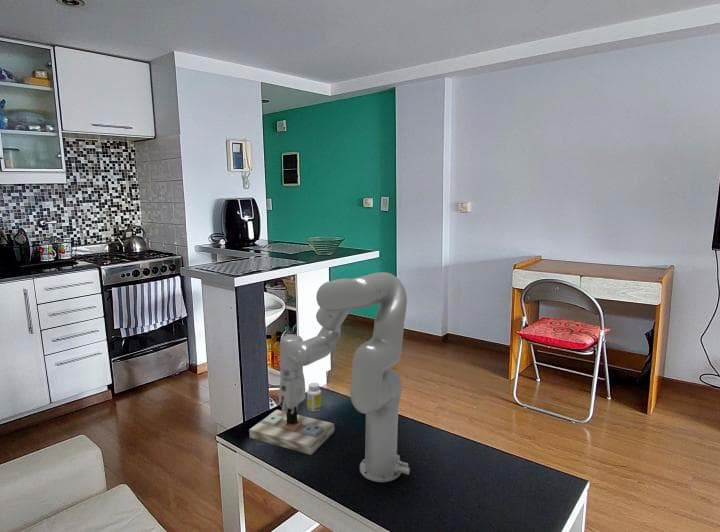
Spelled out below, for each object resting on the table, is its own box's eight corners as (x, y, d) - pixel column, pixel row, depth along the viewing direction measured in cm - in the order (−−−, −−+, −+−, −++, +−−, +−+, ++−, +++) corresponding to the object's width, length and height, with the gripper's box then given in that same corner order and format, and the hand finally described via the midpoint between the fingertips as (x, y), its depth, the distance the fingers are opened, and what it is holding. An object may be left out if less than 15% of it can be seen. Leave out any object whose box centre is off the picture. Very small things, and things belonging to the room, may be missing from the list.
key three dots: (302, 429, 159) (302, 421, 158) (294, 436, 154) (294, 427, 154) (290, 426, 161) (290, 418, 160) (282, 433, 156) (282, 424, 156)
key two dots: (322, 435, 156) (322, 426, 155) (315, 442, 151) (315, 433, 151) (310, 431, 158) (310, 423, 157) (302, 438, 153) (302, 429, 153)
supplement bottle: (322, 405, 179) (322, 382, 178) (319, 412, 174) (319, 388, 173) (308, 405, 180) (308, 381, 178) (305, 411, 175) (305, 387, 173)
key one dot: (283, 424, 162) (283, 416, 162) (274, 431, 158) (274, 422, 157) (271, 421, 164) (271, 413, 164) (262, 428, 160) (262, 419, 159)
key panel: (334, 431, 160) (334, 423, 160) (311, 454, 146) (311, 446, 145) (276, 417, 170) (276, 409, 169) (249, 437, 155) (249, 429, 155)
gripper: (288, 382, 146) (289, 435, 149) (312, 366, 160) (312, 415, 162) (269, 377, 149) (269, 430, 152) (294, 362, 163) (294, 411, 165)
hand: (291, 422), depth 157 cm, fingers closed
